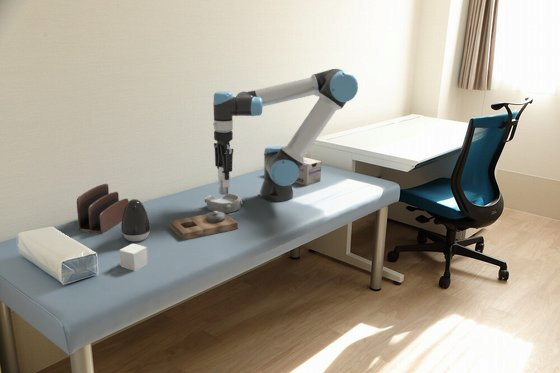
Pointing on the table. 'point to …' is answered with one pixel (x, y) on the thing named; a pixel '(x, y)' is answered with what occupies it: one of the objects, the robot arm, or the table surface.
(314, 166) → the surgical sutures box
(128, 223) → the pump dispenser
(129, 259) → the white cube
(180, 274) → the table surface
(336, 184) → the table surface
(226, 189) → the pin
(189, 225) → the plate
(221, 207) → the dish
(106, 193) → the letter holder
